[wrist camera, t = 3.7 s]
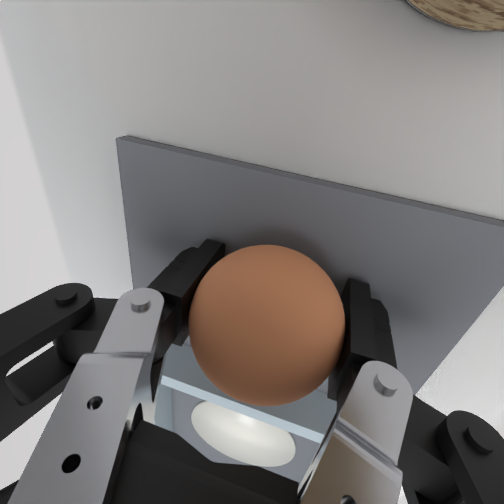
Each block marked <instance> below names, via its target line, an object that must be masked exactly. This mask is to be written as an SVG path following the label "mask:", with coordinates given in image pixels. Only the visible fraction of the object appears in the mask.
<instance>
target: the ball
mask: <svg viewBox="0 0 504 504" xmlns="http://www.w3.org/2000/svg"><path fill="white" fill-rule="evenodd" d="M188 328H189V337H190V343H191V347H192V350H193V353H194V355H195V358H196V361H197V362H198V364H199V366H200V368H201V369H202V371H203V372H204V374H205V375H206V376H207V378H208V379H209V380H210V381H211V382H212V383H213V384H214V385H215V386H216V387H217V388H219V389H220V390H221V391H222V392H224V393H225V394H227V395H229V396H230V397H232V398H234V399H236V400H239V401H241V402H244V403H247V404H251V405H257V406H279V405H284V404H288V403H291V402H294V401H297V400H299V399H301V398H303V397H305V396H307V395H308V394H310V393H311V392H313V391H314V390H315V389H317V388H318V387H319V386H320V385H321V384H322V383H323V382H324V381H325V380H326V379H327V377H328V376H329V375H330V374H331V372H332V371H333V369H334V367H335V365H336V363H337V362H338V360H339V357H340V354H341V351H342V348H343V343H344V338H345V314H344V309H343V305H342V301H341V298H340V296H339V293H338V291H337V289H336V287H335V286H334V284H333V282H332V280H331V279H330V277H329V276H328V275H327V274H326V272H325V271H324V270H323V269H322V268H321V267H320V266H319V265H318V264H317V263H315V262H314V261H313V260H311V259H310V258H309V257H307V256H305V255H304V254H302V253H300V252H298V251H295V250H293V249H290V248H287V247H282V246H278V245H256V246H249V247H246V248H242V249H239V250H237V251H235V252H233V253H231V254H228V255H227V256H225V257H224V258H222V259H221V260H220V261H218V262H217V263H216V264H215V265H214V266H213V267H211V269H210V270H209V271H208V272H207V273H206V275H205V276H204V277H203V278H202V280H201V282H200V283H199V285H198V287H197V289H196V291H195V293H194V296H193V299H192V302H191V306H190V311H189V322H188Z"/></svg>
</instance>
